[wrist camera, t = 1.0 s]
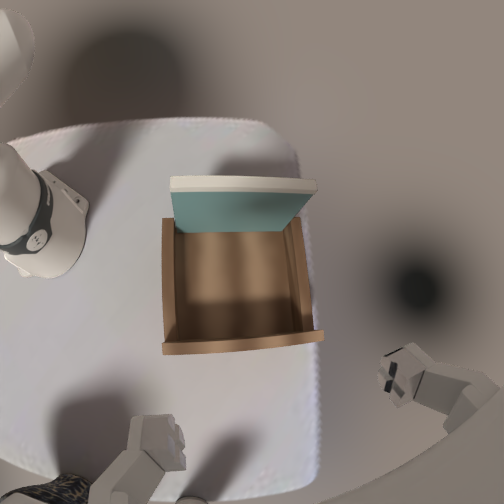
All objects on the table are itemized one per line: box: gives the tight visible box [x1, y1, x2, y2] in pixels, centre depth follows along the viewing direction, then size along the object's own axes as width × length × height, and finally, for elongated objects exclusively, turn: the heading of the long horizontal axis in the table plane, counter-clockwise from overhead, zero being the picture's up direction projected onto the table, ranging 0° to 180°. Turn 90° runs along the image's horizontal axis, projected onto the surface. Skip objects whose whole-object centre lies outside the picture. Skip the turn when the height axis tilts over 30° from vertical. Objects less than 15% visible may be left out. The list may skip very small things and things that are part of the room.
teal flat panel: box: [170, 176, 318, 233], centre depth 35 cm, size 16×1×14 cm, turn 95°
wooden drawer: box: [162, 217, 324, 355], centre depth 38 cm, size 20×18×10 cm
